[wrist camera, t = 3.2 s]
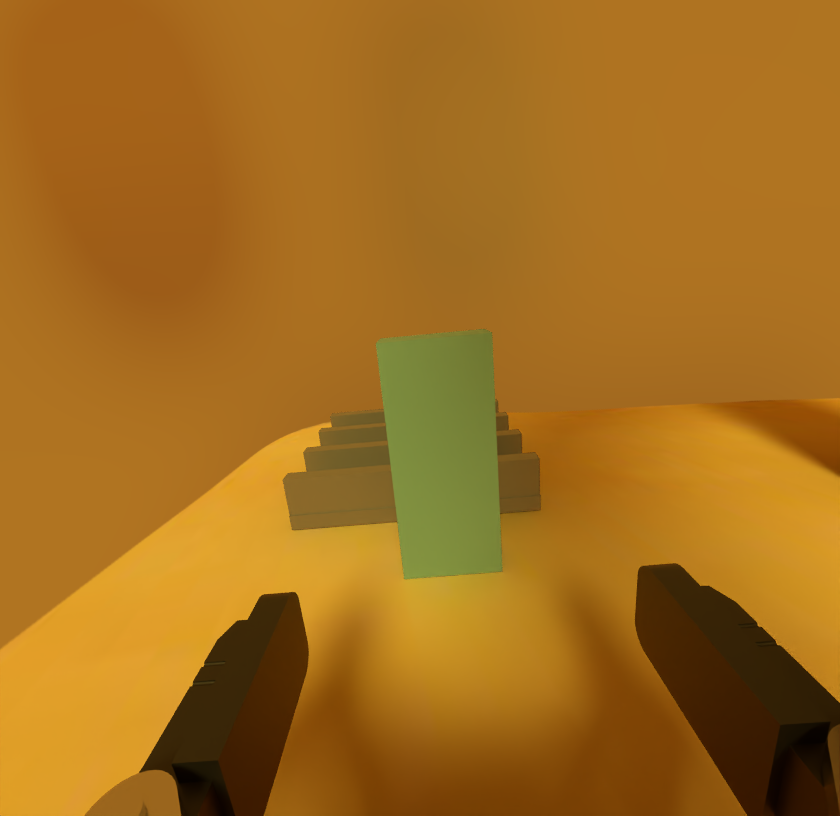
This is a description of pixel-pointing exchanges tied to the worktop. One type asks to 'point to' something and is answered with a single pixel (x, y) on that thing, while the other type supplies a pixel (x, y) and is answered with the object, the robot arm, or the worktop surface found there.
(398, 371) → the card
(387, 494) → the rack
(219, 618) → the worktop surface
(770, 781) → the robot arm
